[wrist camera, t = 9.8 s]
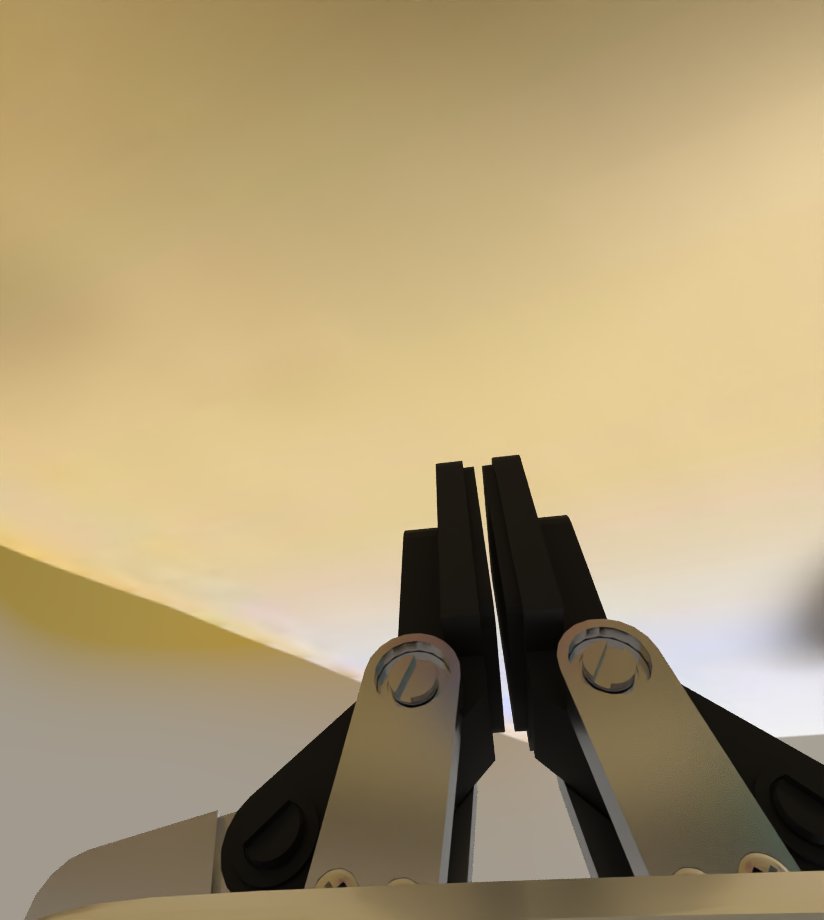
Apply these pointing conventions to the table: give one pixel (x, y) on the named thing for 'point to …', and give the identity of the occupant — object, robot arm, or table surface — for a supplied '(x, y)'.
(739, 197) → the table surface
